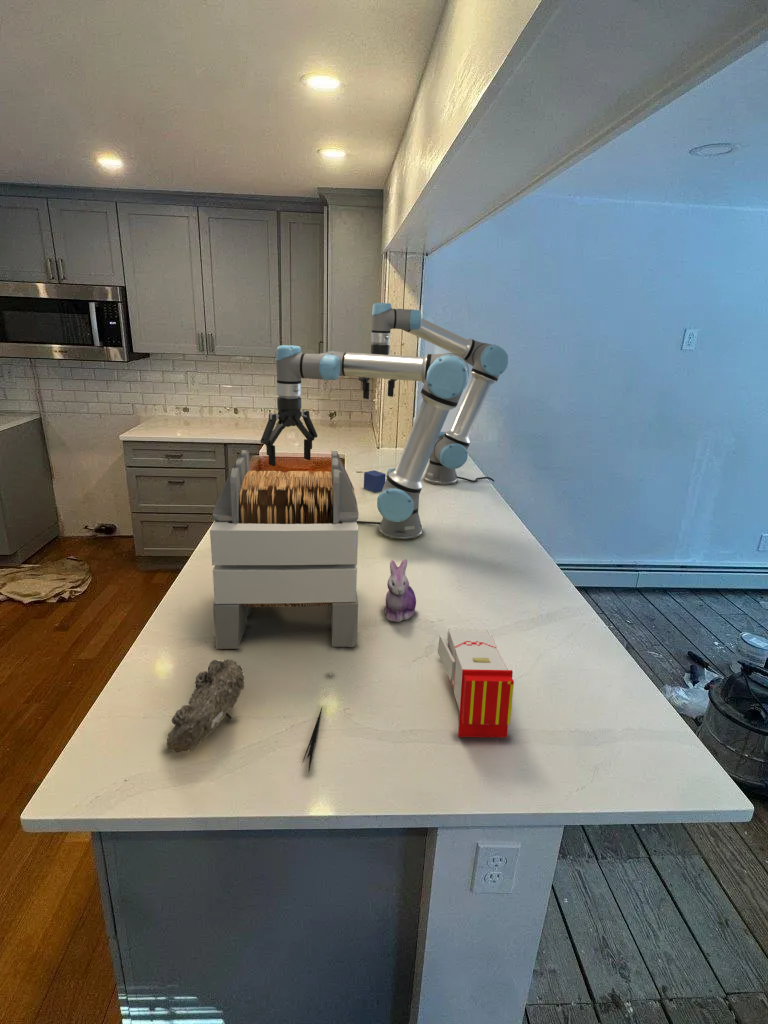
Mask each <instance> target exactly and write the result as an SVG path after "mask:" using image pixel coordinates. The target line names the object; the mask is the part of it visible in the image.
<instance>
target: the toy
mask: <svg viewBox="0 0 768 1024" xmlns="http://www.w3.org/2000/svg"><path fill="white" fill-rule="evenodd" d="M446 640H447V643H446V641H445V639H444V636H443V635H442V634H439V637H438V646H437V656H438V657H439V659H440V661H441V663H442V666H443V668H444V670H445V672H446V674H447V677H448V679H449V681H450V684H451V687H452V690H453V693H454V697H455V701H456V705H457V708H458V711H459V714H458V715H459V716H458V730H457V731H458V732H457V737H458V738H508V731H509V726H510V725H511V717H512V707H513V697H514V696H513V695H514V684H515V680H514V679H513V673H514V671H513V670H512V669H508V667H507V665H506V662H505V661H504V659H503V658H502V655H501V653H500V651H499V649H498V647H497V643H496V639H495V637H494V635H493V634H491V632H490V631H489V629H467V628H466V629H465V628H463V629H461V628H460V629H459V628H448V630H447V639H446Z"/></svg>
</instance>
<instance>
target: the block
mask: <svg viewBox="0 0 768 1024" xmlns="http://www.w3.org/2000/svg"><path fill="white" fill-rule="evenodd" d="M386 475H387V473H383V472H380V471H378V470H375V469H374V470H369V471H364V472H363V490H365V491H369V492H371V493H374V494H376V493H381V492H382V489H383V487H384V484H385V482H386Z"/></svg>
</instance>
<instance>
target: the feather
mask: <svg viewBox="0 0 768 1024" xmlns="http://www.w3.org/2000/svg"><path fill="white" fill-rule="evenodd" d="M329 675H330V676H331V675H332V674H331V673H330V674H329ZM322 710H323V707H321V708H320V710H319V713H318V716H317V719H316V723H315V725H314V728H313V731H312V733H311V737H310V739H309V742H308V745H307V748H306V751H305V754H304V757H303V760H302V763H301V767H302V765H303V763H304V761H305V758H308V759H309V760H308V762H307V763H308V764H307V766H308V771H310V770H311V766H312V765H311V764H312V760H313V757H315V756H314V755H315V751H316V749H315V746H317V739H318V733H319V729H320V722H321V717H322V712H323V711H322ZM313 754H314V755H313ZM306 755H307V757H306Z"/></svg>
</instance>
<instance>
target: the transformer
mask: <svg viewBox="0 0 768 1024" xmlns="http://www.w3.org/2000/svg"><path fill="white" fill-rule="evenodd" d="M330 459H331V460H330V461H331V462H330V466H331V467H330V471H324V472H323V471H320V470H319V471H317V470H316V471H315V470H314V472H310V471H309V470H288V471H281V470H278V471H277V470H259V471H258V470H251V464H250V450H249V449H247V450H246V449H241V450H240V453H239V455H238V457H237V459H236V461H235V463H234V465H233V467H232V468H231V470H230V472H229V474H228V477H227V479H226V481H225V483H224V485H223V488H222V490H221V492H220V495H219V497H218V499H217V501H216V503H215V506H214V507H213V510H212V520H213V523H212V524H211V527H210V529H209V538H210V555H211V565H212V566H214V567H213V569H212V584H213V600H214V601H213V605H212V610H213V611H212V612H213V624H214V633H215V646H214V648H215V649H216V650H222V651H223V649H225V650H227V649H229V650H230V649H233V650H234V649H235V650H237V649H238V648H239V646H240V643H241V641H242V638H243V635H244V633H245V630H246V628H247V618H249V615H250V612H251V608H270V607H272V608H276V607H277V608H279V607H280V608H282V607H285V608H288V607H291V608H294V607H295V608H296V607H306V606H307V607H326V606H328V607H330V617H331V618H330V620H331V621H330V625H331V626H330V627H331V647H333V648H335V647H337V648H338V647H339V648H340V647H347V648H354V647H356V646H358V622H359V621H358V618H359V600H358V592H357V583H358V568H357V564H358V547H359V546H358V545H359V528H358V527H359V526H358V523H357V521H358V520H359V515H360V514H359V507H358V502H357V498H356V497H357V496H356V493H355V492H356V491H355V487H354V485H353V482H352V481H351V478H350V477H349V474H348V472H347V470H346V468H345V465H344V463H343V461H342V459H341V457H340V455H339V453H338V451H337V450H331V458H330Z"/></svg>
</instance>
